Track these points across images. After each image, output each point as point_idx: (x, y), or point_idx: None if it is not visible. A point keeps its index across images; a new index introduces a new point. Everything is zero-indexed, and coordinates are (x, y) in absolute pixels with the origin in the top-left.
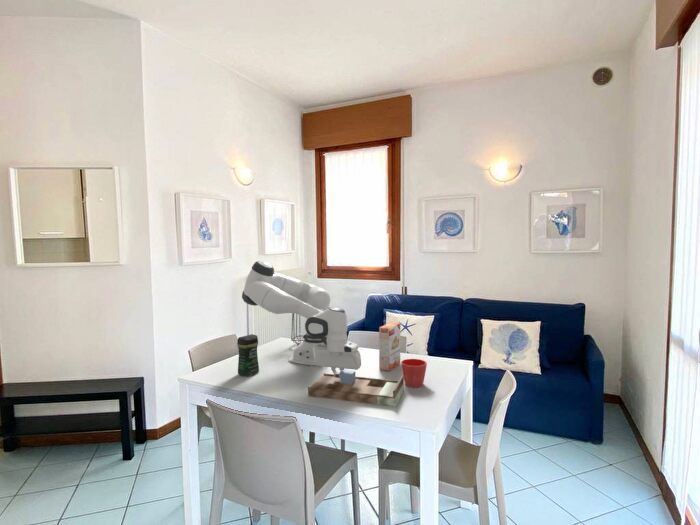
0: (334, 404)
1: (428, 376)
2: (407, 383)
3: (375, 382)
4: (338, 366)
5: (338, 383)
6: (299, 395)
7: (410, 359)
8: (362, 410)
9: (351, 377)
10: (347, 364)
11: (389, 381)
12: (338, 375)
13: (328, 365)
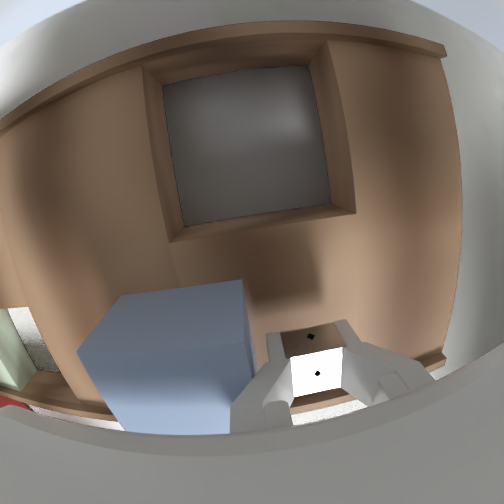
0: (151, 11)
1: None
2: (13, 404)
3: (67, 392)
4: (303, 445)
5: (256, 260)
6: (446, 67)
7: None
8: (3, 70)
9: (91, 332)
10: (82, 490)
11: (13, 390)
12: (293, 345)
13: (493, 368)
